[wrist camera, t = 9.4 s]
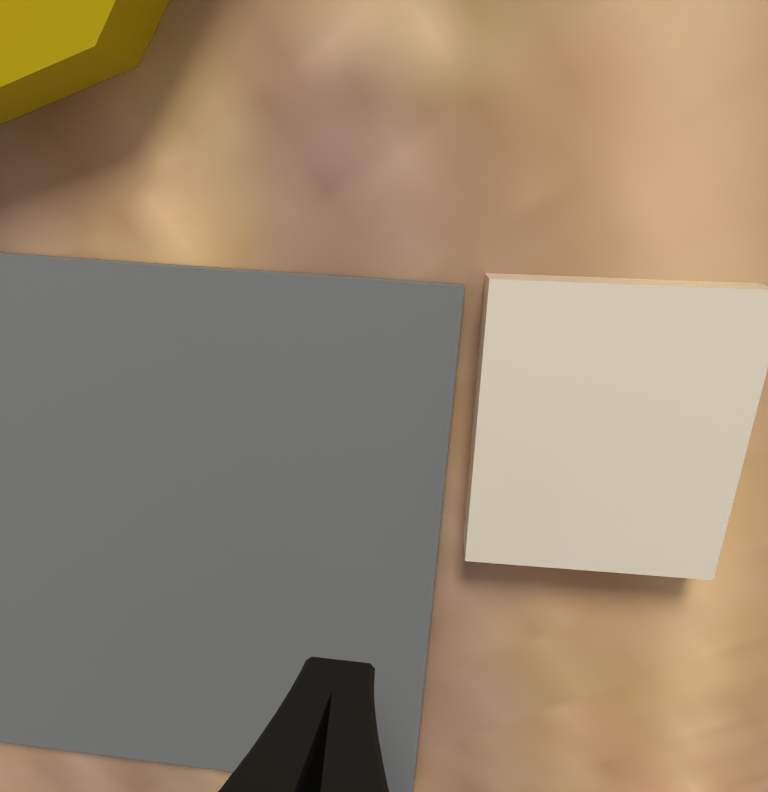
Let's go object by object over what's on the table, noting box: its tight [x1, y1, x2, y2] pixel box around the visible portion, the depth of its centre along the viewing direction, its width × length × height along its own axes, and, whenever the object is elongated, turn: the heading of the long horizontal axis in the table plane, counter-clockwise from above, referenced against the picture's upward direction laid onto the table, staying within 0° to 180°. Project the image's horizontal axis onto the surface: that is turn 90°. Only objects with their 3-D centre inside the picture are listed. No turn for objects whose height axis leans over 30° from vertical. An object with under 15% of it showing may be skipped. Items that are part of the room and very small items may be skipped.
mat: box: [0, 253, 465, 792], centre depth 16 cm, size 16×16×1 cm
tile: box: [463, 273, 768, 580], centre depth 14 cm, size 7×2×6 cm
